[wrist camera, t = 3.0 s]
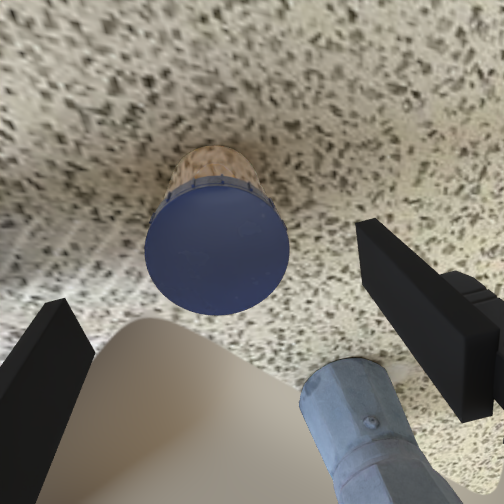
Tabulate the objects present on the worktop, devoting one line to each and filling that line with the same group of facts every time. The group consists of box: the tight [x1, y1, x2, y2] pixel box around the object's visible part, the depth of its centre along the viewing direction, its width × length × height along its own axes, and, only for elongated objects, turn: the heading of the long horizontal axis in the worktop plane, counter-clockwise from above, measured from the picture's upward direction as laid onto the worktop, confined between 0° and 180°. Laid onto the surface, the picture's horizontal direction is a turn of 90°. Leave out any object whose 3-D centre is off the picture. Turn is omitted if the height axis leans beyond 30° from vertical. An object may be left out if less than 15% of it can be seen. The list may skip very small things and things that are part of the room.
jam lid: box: [144, 174, 290, 315], centre depth 17 cm, size 6×6×2 cm
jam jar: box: [164, 145, 266, 199], centre depth 21 cm, size 6×6×9 cm
